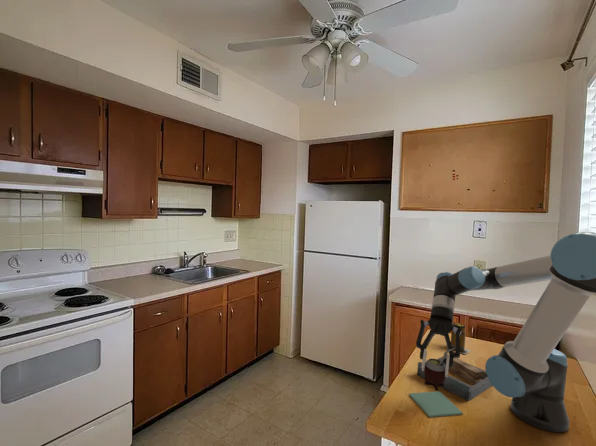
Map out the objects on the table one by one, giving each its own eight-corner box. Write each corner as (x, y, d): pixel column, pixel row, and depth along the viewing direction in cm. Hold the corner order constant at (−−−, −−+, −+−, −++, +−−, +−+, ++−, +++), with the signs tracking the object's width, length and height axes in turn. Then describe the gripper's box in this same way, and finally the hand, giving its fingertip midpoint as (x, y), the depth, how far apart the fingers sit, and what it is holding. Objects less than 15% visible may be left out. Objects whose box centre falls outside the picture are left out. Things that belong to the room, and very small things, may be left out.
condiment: (453, 344, 158) (455, 321, 157) (471, 351, 151) (473, 326, 151) (446, 348, 153) (448, 324, 153) (464, 355, 147) (466, 329, 146)
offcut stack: (483, 384, 123) (484, 372, 122) (475, 386, 121) (476, 373, 121) (453, 366, 135) (454, 355, 135) (445, 368, 134) (446, 357, 134)
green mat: (462, 414, 103) (462, 412, 103) (429, 417, 100) (429, 415, 100) (439, 392, 115) (439, 391, 114) (409, 395, 112) (409, 393, 112)
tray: (496, 383, 123) (497, 370, 123) (468, 401, 110) (469, 387, 110) (446, 361, 139) (447, 350, 139) (417, 374, 126) (418, 362, 126)
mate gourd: (420, 378, 112) (423, 336, 111) (444, 380, 111) (447, 338, 110) (426, 390, 104) (430, 346, 104) (452, 393, 104) (455, 348, 103)
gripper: (471, 321, 116) (467, 385, 102) (415, 310, 125) (404, 368, 112) (472, 310, 111) (468, 377, 97) (414, 300, 120) (402, 359, 107)
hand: (434, 372), depth 105 cm, fingers closed on mate gourd, 6 cm apart
